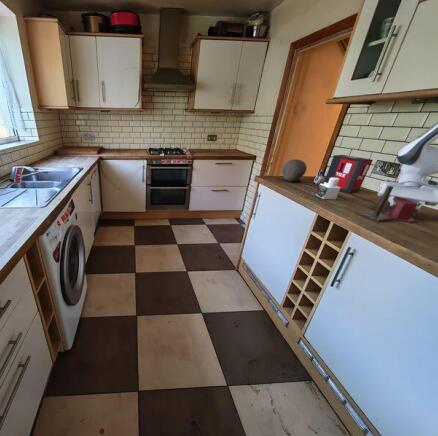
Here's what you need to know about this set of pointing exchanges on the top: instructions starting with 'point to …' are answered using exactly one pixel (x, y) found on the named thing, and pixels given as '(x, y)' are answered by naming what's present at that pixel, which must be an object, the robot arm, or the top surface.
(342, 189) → the cleaning product box
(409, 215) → the hat
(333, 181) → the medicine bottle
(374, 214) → the hat stand
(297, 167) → the grey stone ball
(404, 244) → the top surface
